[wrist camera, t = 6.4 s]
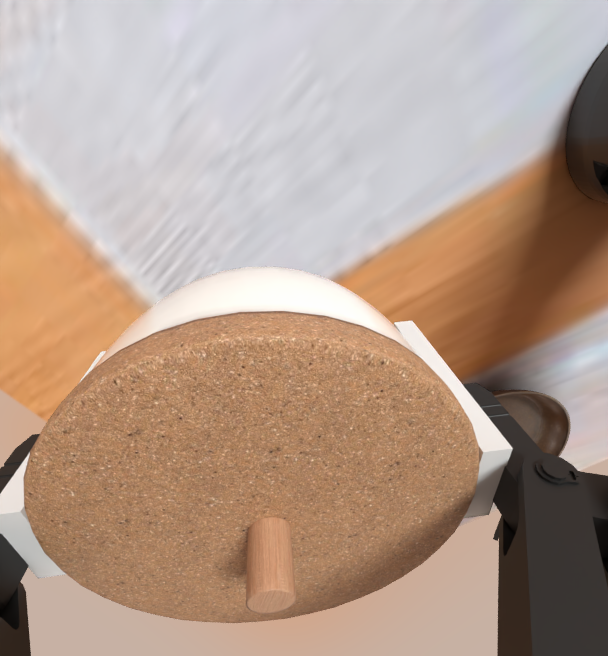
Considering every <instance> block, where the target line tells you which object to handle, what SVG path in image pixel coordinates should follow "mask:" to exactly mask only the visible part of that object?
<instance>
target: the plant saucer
mask: <svg viewBox="0 0 608 656" xmlns="http://www.w3.org/2000/svg"><path fill="white" fill-rule="evenodd" d="M491 393H492V394H493V395H494V396H495V398H496V399H497V400H498V401H499V402H500V403H501V406H503V407H504V408H505V409H506V410H507V411H508V412H509V415H510V416H512V417H513V418H514V419H515V420H516V422H517V423H518V424H519V425H520V426H521V427H522V428H523V430H524V431H525V432H526V433H527V434H528V435H529V436H530V438H531V439H532V440H533V441H534V442H535V443H536V444H537V446H538V447H539V448H540V449H541V450H542V451H543V452H544V453H550V454H552V455H555V456H558V457H559V456H560V455H561V453H562V451H563V450H564V448H565V446H566V443H567V441H568V438H569V434H570V417H569V414H568V412H567V410H566V409H565V407H564V406H563V405H562V404H561V403H560V402H559V401H558V400H556V399H555V398H553V397H551V396H548V395H546V394H542V393H538V392H534V391H528V390H499V391H493V392H491Z"/></svg>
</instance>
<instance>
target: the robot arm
mask: <svg viewBox="0 0 608 656" xmlns="http://www.w3.org/2000/svg"><path fill="white" fill-rule="evenodd" d="M566 157H567V164H568V168H569V171H570V174H571V177H572V179H573V181H574V182H575V184H576V185H577V187H578V188H579V189H580V190H581V191H582V192H583V193H584V194H585V195H587V196H588V197H590V198H592V199H594V200H596V201H599V202H603V203H608V46H607V47H606V48H605V50H604V51H603V52H602V54H601V55H600V56H599V58H598V59H597V61H596V62H595V64H594V65H593V67H592V69H591V70H590V72H589V74H588V75H587V77H586V79H585V81H584V83H583V85H582V87H581V89H580V91H579V94H578V96H577V98H576V101H575V104H574V107H573V110H572V113H571V116H570V120H569V125H568V130H567V138H566ZM394 327H395V328H396V329H397V330H398V331H399V332H400V333H401V334H402V335H403V336H404V337H405V338H406V339H407V340H408V342H409V343H410V344H411V345H412V347H413V348H414V349H415V350H416V352H417V353H418V354H419V356H420V357H421V358H422V359H423V360H424V361H425V362H426V363H427V365H428V366H429V367H430V368H431V369H432V370H433V371H434V372H435V373H436V374H437V375H438V376H439V377H440V378H441V379H442V380H443V381H444V382H445V383H446V385H447V386H448V387H449V388H450V390H451V391H452V392H453V394H454V395H455V397H456V398H457V400H458V401H459V403H460V404H461V406H462V408H463V409H464V411H465V413H466V414H467V416H468V418H469V419H470V421H471V423H472V426H473V429H474V432H475V435H476V439H477V442H478V445H479V474H478V480H477V485H476V491H475V495H474V497H473V500H472V502H471V504H470V506H469V508H468V511H467V513H466V515H465V516H464V518H469V517H476V516H483V515H489V513H490V510H491V507H492V505H493V502H494V503H495V505H496V506H497V508H498V510H499V511H500V513H501V514H502V516H501V518H500V521H499V524H498V526H497V529H496V531H495V534H494V538H493V539H495V540H498V538H499V587H498V656H608V476H605V475H598V474H592V473H585V472H580V471H578V470H577V469H576V468H575V467H574V466H573V465H571V464H570V463H568V462H567V461H565V460H564V459H562V458H560V457H558V456H555V455H552V454H550V453H544V452H543V451H542V450H541V449H540V448H539V447H538V446H537V444H536V443H535V442H534V441H533V440H532V439H531V438H530V436H529V435H528V434H527V433H526V432H525V431H524V430H523V428H522V427H521V426H520V425H519V424H518V423H517V422H516V420H515V419H514V418H513V417H512V416H510V415H509V412H508V411H507V410H506V409H505V408H504V407H503V406H501V403H500V402H499V401H498V400H497V399H496V398H495V396H494V395H493V394H492V393H491V392H490V391H488V390H487V389H485V388H483V387H482V386H480V385H479V384H477V383H473V384H464V385H462V383H461V382H460V381H459V379H458V378H457V377H456V376H455V374H454V373H453V372H452V371H451V369H450V368H449V367H448V366H447V364H446V363H445V362H444V360H443V359H442V358H441V357H440V355H439V354H438V353H437V352H436V350H435V349H434V348H433V347H432V345H431V344H430V343H429V341H428V340H427V339H426V338H425V336H424V335H423V334H422V333H421V331H420V330H419V329H418V327H417V326H416V325H415V324H414V322H413V321H403V322H394ZM105 352H106V351H103V352H101V353H100V354H99V355H98V357H97V358H96V360H95V361H94V362H93V364H92V365H91V367H90V368H89V370H88V371H87V372H86V374H85V375H84V377H85V376H86V375H87V374H88V373H89V372H90V371H91V370H92V369H93V367H94V366H95V365H96V364H97V362H98V361H99V360H100V359H101V357H102V356H103V355H104V354H105ZM84 377H83V378H82V379H81V381H82V380H83V379H84ZM81 381H80V382H81ZM80 382H79V383H80ZM39 435H40V434H35V435H32V436H30V437H29V438H28V439H27V440H26V441H24V442H23V443H22V444H21V445H19V446H18V447H17V448H16V449H15V450H14V452H13V453H12V454H11V455H10V457H9V458H8V459H7V461H6V462H5V463H4V467H1V469H0V656H31V652H30V640H29V627H28V615H27V602H26V591H25V589H24V587H23V584H22V583H21V582H20V581H21V579H22V577H23V575H24V573H25V572H26V570H27V568H28V567H29V568H30V570H31V571H32V572H33V573H34V574H35V575H36V577H37V578H44V577H50V576H58V575H65V574H66V573H65V572H63V571H62V570H61V569H60V568H59V567H58V566H57V565H56V564H55V563H54V562H53V561H52V560H51V559H50V558H49V557H48V556H47V555H46V554H45V553H44V551H43V549H42V548H41V546H40V544H39V542H38V541H37V539H36V537H35V536H34V534H33V532H32V529H31V526H30V523H29V520H28V517H27V514H26V511H25V507H24V481H23V478H24V474H25V470H26V466H27V462H28V458H29V455H30V451H31V449H32V447H33V446H34V444H35V442H36V440H37V439H38V437H39Z"/></svg>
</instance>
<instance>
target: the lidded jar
mask: <svg viewBox="0 0 608 656" xmlns="http://www.w3.org/2000/svg"><path fill="white" fill-rule="evenodd" d="M478 474H479V445H478V442H477V439H476V435H475V432H474V429H473V426H472V423H471V421H470V419H469V418H468V416H467V414H466V413H465V411H464V409H463V408H462V406H461V404H460V403H459V401H458V400H457V398H456V397H455V395H454V394H453V392H452V391H451V390H450V388H449V387H448V386H447V385H446V383H445V382H444V381H443V380H442V379H441V378H440V377H439V376H438V375H437V374H436V373H435V372H434V371H433V370H432V369H431V368H430V367H429V366H428V365H427V363H426V362H425V361H424V360H423V359H422V358H421V357H420V356H419V354H418V353H417V352H416V350H415V349H414V348H413V347H412V345H411V344H410V343H409V342H408V340H407V339H406V338H405V337H404V336H403V335H402V334H401V333H400V332H399V331H398V330H397V329H396V328H395V327H394V325H393V324H392V323H391V322H390V321H389V320H388V319H387V318H385V317H384V316H383V315H382V314H381V313H380V312H379V311H378V310H377V309H376V308H375V307H373V306H372V305H370V304H369V303H368V302H366V301H365V300H363V299H362V298H361V297H359V296H358V295H356V294H355V293H353V292H352V291H350V290H348V289H347V288H345V287H343V286H341V285H339V284H337V283H335V282H333V281H331V280H329V279H327V278H324V277H322V276H318V275H315V274H312V273H308V272H305V271H302V270H296V269H289V268H282V267H244V268H238V269H232V270H226V271H221V272H218V273H215V274H212V275H209V276H206V277H203V278H200V279H197V280H195V281H193V282H191V283H189V284H187V285H185V286H183V287H181V288H179V289H178V290H176V291H174V292H172V293H171V294H169V295H168V296H166V297H164V298H163V299H162V300H160V301H159V302H158V303H156V304H155V305H153V306H152V307H151V308H149V309H148V310H147V311H145V312H144V313H143V314H142V315H141V316H140V317H138V318H137V319H136V320H135V321H134V322H133V323H132V324H131V325H130V326H129V327H128V328H127V329H126V330H125V331H124V332H123V333H122V334H121V335H120V337H119V338H118V339H117V340H116V341H115V342H114V343H113V344H112V345H111V346H110V347H109V349H108V350H107V351H106V352H105V354H104V355H103V356H102V357H101V359H100V360H99V361H98V362H97V364H96V365H95V366H94V367H93V369H92V370H91V371H90V372H89V373H88V374H87V375H86V376H85V377H84V379H83V380H82V381H81V382H80V383H79V384H78V385H77V386H76V387H75V388H74V389H73V390H72V392H71V393H70V394H69V395H68V396H67V397H66V398H65V399H64V400H63V401H62V402H61V404H60V405H59V406H58V408H57V409H56V410H55V412H54V413H53V414H52V416H51V417H50V419H49V420H48V422H47V423H46V425H45V427H44V428H43V430H42V432H41V434H40V435H39V437H38V439H37V440H36V442H35V444H34V446H33V447H32V449H31V451H30V455H29V458H28V462H27V466H26V470H25V474H24V478H23V481H24V507H25V511H26V514H27V517H28V520H29V523H30V526H31V529H32V532H33V534H34V536H35V537H36V539H37V541H38V542H39V544H40V546H41V548H42V549H43V551H44V553H45V554H46V555H47V556H48V557H49V558H50V559H51V560H52V561H53V562H54V563H55V564H56V565H57V566H58V567H59V568H60V569H61V570H62V571H63V572H65V573H66V574H67V575H68V576H70V577H71V578H73V579H74V580H75V581H76V582H78V583H79V584H80V585H82V586H83V587H85V588H87V589H89V590H91V591H93V592H95V593H97V594H99V595H100V596H102V597H104V598H107V599H109V600H112V601H114V602H116V603H119V604H121V605H124V606H126V607H129V608H132V609H136V610H140V611H144V612H147V613H151V614H155V615H160V616H165V617H170V618H175V619H180V620H191V621H202V622H221V623H242V622H257V621H268V620H277V619H285V618H291V617H295V616H300V615H305V614H310V613H313V612H318V611H322V610H326V609H330V608H334V607H337V606H339V605H342V604H344V603H347V602H350V601H353V600H355V599H358V598H361V597H363V596H365V595H368V594H370V593H372V592H374V591H377V590H379V589H381V588H383V587H385V586H387V585H389V584H390V583H392V582H394V581H396V580H397V579H399V578H401V577H403V576H404V575H405V574H407V573H409V572H410V571H412V570H413V569H414V568H416V567H418V566H419V565H421V564H422V563H423V562H424V561H426V560H427V559H428V558H429V557H430V556H431V555H432V554H433V553H435V552H436V551H437V550H438V549H439V548H440V547H441V546H442V545H443V544H444V543H445V542H446V541H447V540H448V538H449V537H450V536H451V535H452V534H453V533H454V532H455V530H456V529H457V527H458V526H459V524H460V523H461V521H462V519H463V518H464V516H465V515H466V513H467V511H468V508H469V506H470V504H471V502H472V500H473V497H474V495H475V491H476V485H477V480H478Z"/></svg>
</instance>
